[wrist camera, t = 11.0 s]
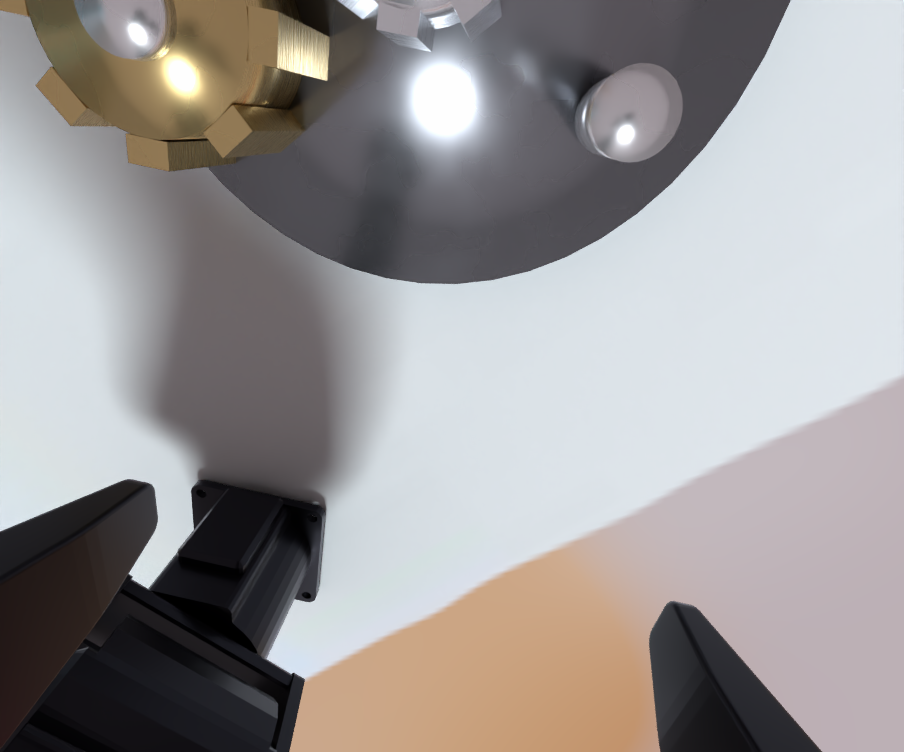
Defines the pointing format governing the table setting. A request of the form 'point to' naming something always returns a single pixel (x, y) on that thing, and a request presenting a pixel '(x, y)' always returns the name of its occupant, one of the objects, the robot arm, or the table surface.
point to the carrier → (413, 112)
